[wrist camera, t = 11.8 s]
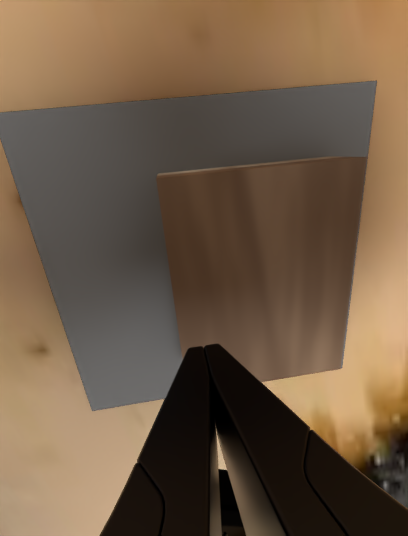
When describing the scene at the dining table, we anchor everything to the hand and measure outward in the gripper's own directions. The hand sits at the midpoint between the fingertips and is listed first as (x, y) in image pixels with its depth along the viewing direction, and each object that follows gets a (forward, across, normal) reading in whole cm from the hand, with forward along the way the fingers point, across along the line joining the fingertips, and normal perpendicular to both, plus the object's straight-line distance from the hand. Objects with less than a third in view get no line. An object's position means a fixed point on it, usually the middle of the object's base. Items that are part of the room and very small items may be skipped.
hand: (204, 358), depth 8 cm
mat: (+6, -1, 0) cm, 6 cm away
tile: (+4, +1, 0) cm, 4 cm away
